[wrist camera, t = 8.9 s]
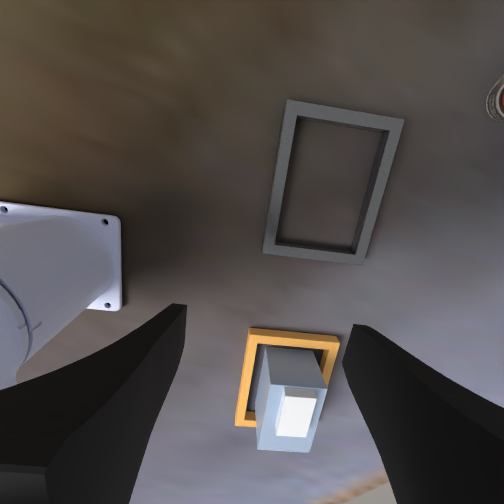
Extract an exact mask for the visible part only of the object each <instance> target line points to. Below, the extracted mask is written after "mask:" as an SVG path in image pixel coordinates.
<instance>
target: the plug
mask: <svg viewBox="0 0 504 504" xmlns="http://www.w3.org/2000/svg"><path fill="white" fill-rule="evenodd" d="M326 393H327V386H326V384H325V381H324V378H323V376H322V373H321V371H320V368H319V366H318V363H317V361H316V358H315V355H314V353H313V351H309V350H298V349H288V348H277V347H265V352H264V358H263V363H262V369H261V374H260V379H259V385H258V390H257V396H256V401H255V415H256V433H257V449H258V450H274V451H291V452H308V453H309V451H310V448H311V444H312V441H313V437H314V434H315V431H316V427H317V424H318V420H319V417H320V413H321V410H322V407H323V403H324V400H325V396H326Z"/></svg>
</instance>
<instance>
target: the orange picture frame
mask: <svg viewBox="0 0 504 504" xmlns="http://www.w3.org/2000/svg"><path fill="white" fill-rule="evenodd" d="M257 343H261V344H272V345H283V346H294V347H305V348H316V349H324V351H323V355H322V358H321V362H320V366H319V368H320V371H321V373H322V376H323V378H324V381H325V384H326V386H327V387H328V383H329V380H330V376H331V373H332V369H333V366H334V362H335V359H336V356H337V352H338V349H339V345H340V342H339V340H338V339H337V337H336V336H330V335H320V334H310V333H299V332H289V331H279V330H268V329H258V328H249V332H248V338H247V345H246V351H245V357H244V364H243V370H242V376H241V383H240V389H239V395H238V402H237V408H236V414H235V426H248V427H256V415H255V412H252V411H246V406H247V400H248V394H249V389H250V383H251V377H252V371H253V366H254V360H255V354H256V348H257Z"/></svg>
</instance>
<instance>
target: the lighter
mask: <svg viewBox="0 0 504 504" xmlns="http://www.w3.org/2000/svg"><path fill="white" fill-rule="evenodd" d="M486 109H487V112H488V114H489V116H490V117H491V118H492V119H494V120H497V121H504V74H503V76H502V77H501V78H500V79H499V80H498V82H497V83H496V84H495V85H494V86H493V88H492V89H491V90H490V92H489V94H488V96H487V100H486Z"/></svg>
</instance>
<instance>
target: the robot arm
mask: <svg viewBox="0 0 504 504" xmlns="http://www.w3.org/2000/svg"><path fill="white" fill-rule="evenodd" d="M5 207H6V208H7V209H8V212H7V211H6V210H5ZM104 219H107V220H108V225H107V224H105V223H104ZM107 303H110V304H111V306H109V305H107ZM121 307H122V269H121V222H120V219H119V218H118V217H116V216H112V215H104V214H96V213H88V212H81V211H73V210H65V209H57V208H49V207H41V206H33V205H26V204H18V203H10V202H2V201H0V504H129V501H130V498H131V495H132V492H133V488H134V485H135V482H136V479H137V476H138V472H139V469H140V466H141V463H142V460H143V457H144V453H145V450H146V447H147V444H148V441H149V438H150V435H151V432H152V430H153V427H154V424H155V422H156V419H157V417H158V415H159V412H160V410H161V407H162V405H163V403H164V400H165V398H166V396H167V393H168V391H169V388H170V386H171V384H172V381H173V379H174V376H175V374H176V372H177V369H178V366H179V363H180V359H181V356H182V352H183V349H184V342H185V328H186V314H187V305H183V304H174V303H172V304H171V305H169V306H168V307H167V308H165V309H164V310H162V311H161V312H160V313H158V314H157V315H156V316H154V317H153V318H152V319H150V320H149V321H147V322H146V323H144V324H143V325H142V326H140V327H139V328H137V329H136V330H134V331H132V332H131V333H129V334H128V335H126V336H124V337H123V338H121V339H120V340H118V341H116V342H114V343H113V344H111V345H109V346H107V347H105V348H103V349H101V350H99V351H97V352H95V353H93V354H91V355H89V356H87V357H85V358H83V359H80V360H78V361H76V362H74V363H71V364H69V365H67V366H64V367H62V368H60V369H58V370H55V371H53V372H50V373H47V374H45V375H42V376H39V377H37V378H34V379H31V380H28V381H25V382H23V383H20V384H17V382H16V373H17V370H18V369H19V368H20V367H21V366H22V365H23V364H24V363H25V362H26V361H28V360H29V359H30V358H31V357H32V356H33V355H34V354H35V353H37V352H38V351H39V350H40V349H41V348H42V347H43V346H44V345H46V344H47V343H48V342H49V341H50V340H51V339H52V338H53V337H54V336H56V335H57V334H58V333H59V332H60V331H61V330H62V329H63V328H65V327H66V326H67V325H68V324H69V323H70V322H71V321H72V320H74V319H75V318H76V317H77V316H78V315H79V314H80V313H81V312H83V311H84V310H85V309H86V308H88V309H98V310H108V311H118V310H119V309H120V308H121ZM342 364H343V368H344V371H345V375H346V378H347V381H348V384H349V387H350V389H351V391H352V394H353V396H354V398H355V400H356V402H357V405H358V407H359V409H360V411H361V413H362V415H363V418H364V420H365V422H366V424H367V426H368V428H369V431H370V433H371V435H372V437H373V439H374V441H375V444H376V446H377V449H378V451H379V453H380V456H381V459H382V462H383V464H384V467H385V470H386V473H387V476H388V478H389V481H390V484H391V486H392V490H393V493H394V496H395V499H396V502H397V504H504V408H502V407H500V406H498V405H496V404H494V403H492V402H490V401H488V400H486V399H485V398H483V397H481V396H479V395H477V394H475V393H473V392H472V391H470V390H468V389H466V388H464V387H463V386H461V385H459V384H457V383H456V382H454V381H452V380H450V379H449V378H447V377H445V376H444V375H442V374H441V373H439V372H437V371H436V370H434V369H433V368H431V367H429V366H428V365H426V364H425V363H423V362H422V361H420V360H419V359H417V358H416V357H414V356H413V355H411V354H410V353H408V352H407V351H405V350H404V349H402V348H401V347H400V346H398V345H397V344H395V343H394V342H392V341H391V340H389V339H388V338H386V337H385V336H383V335H382V334H380V333H379V332H377V331H376V330H374V329H372V328H371V327H369V326H366V325H357V324H353V328H352V331H351V334H350V338H349V341H348V344H347V348H346V351H345V354H344V357H343V361H342Z"/></svg>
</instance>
